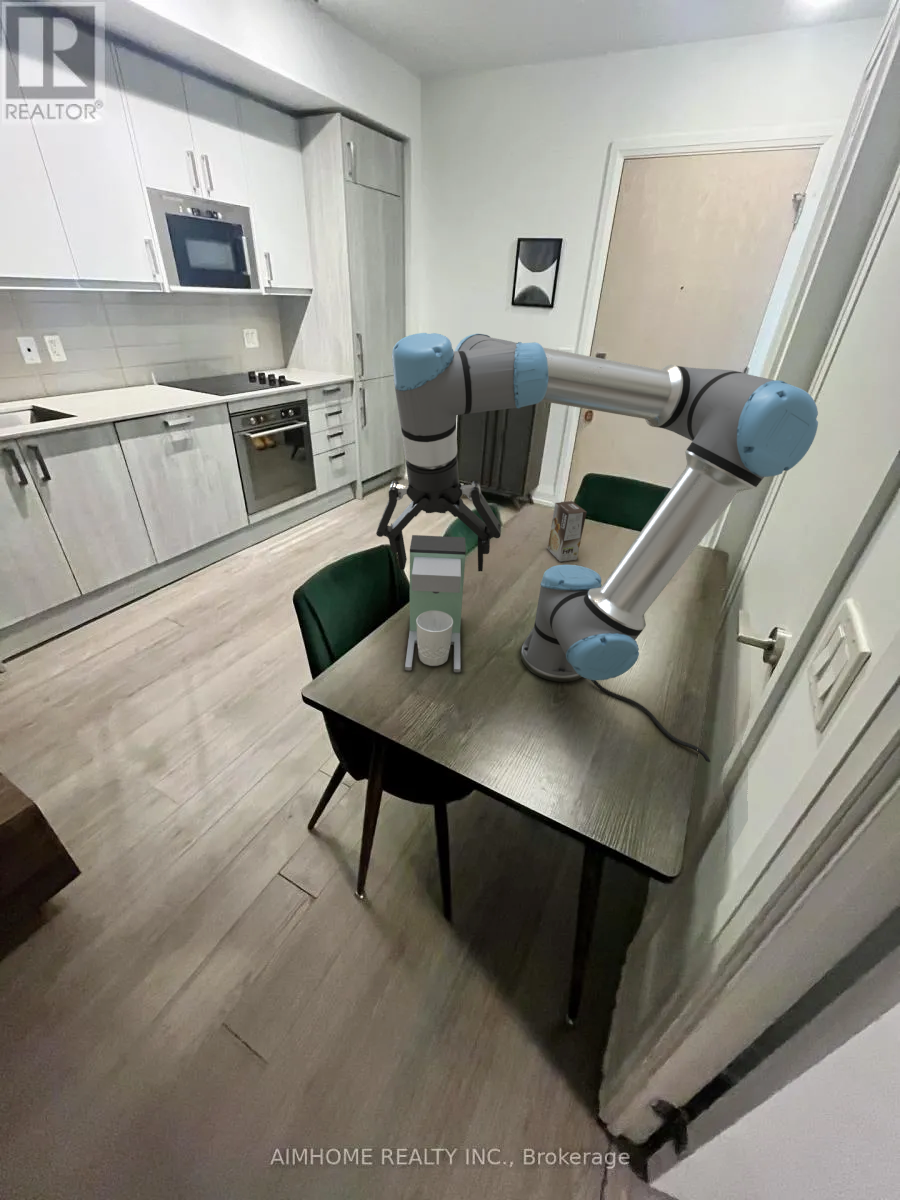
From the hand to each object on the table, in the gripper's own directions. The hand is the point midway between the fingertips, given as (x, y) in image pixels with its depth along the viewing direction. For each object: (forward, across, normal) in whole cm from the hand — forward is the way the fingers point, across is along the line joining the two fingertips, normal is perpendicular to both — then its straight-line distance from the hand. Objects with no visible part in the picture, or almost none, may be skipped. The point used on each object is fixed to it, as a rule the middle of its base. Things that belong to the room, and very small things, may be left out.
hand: (441, 565), depth 85 cm
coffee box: (+47, -29, -57) cm, 79 cm away
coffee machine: (+32, +5, -8) cm, 33 cm away
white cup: (+31, +4, -3) cm, 31 cm away
